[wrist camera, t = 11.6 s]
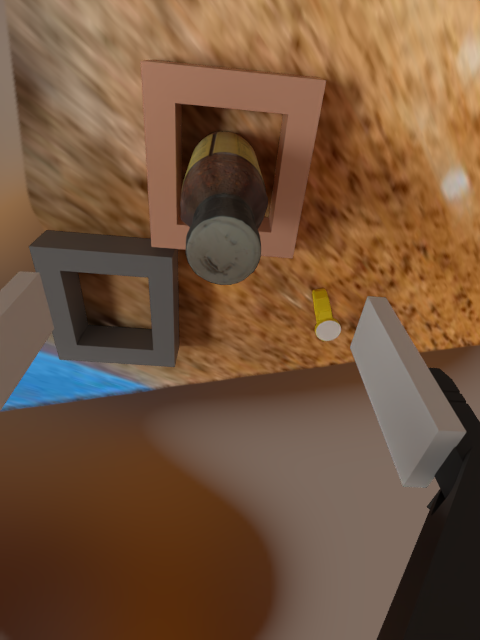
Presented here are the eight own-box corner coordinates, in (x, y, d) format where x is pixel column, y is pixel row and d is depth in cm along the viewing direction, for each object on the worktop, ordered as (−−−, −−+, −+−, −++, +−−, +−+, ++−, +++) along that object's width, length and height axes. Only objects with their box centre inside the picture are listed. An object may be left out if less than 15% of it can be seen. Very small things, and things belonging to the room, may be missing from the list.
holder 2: (158, 230, 39) (151, 246, 36) (151, 59, 31) (140, 60, 27) (288, 241, 40) (292, 258, 37) (317, 77, 31) (326, 80, 28)
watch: (304, 283, 44) (311, 308, 39) (328, 278, 43) (338, 304, 38) (310, 325, 47) (318, 353, 42) (332, 321, 46) (343, 349, 41)
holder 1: (71, 338, 48) (59, 359, 45) (46, 230, 40) (28, 246, 36) (179, 346, 49) (174, 366, 46) (177, 240, 40) (172, 257, 37)
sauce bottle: (202, 202, 38) (173, 315, 22) (184, 136, 34) (133, 213, 18) (265, 188, 37) (284, 295, 21) (254, 119, 33) (265, 184, 17)
